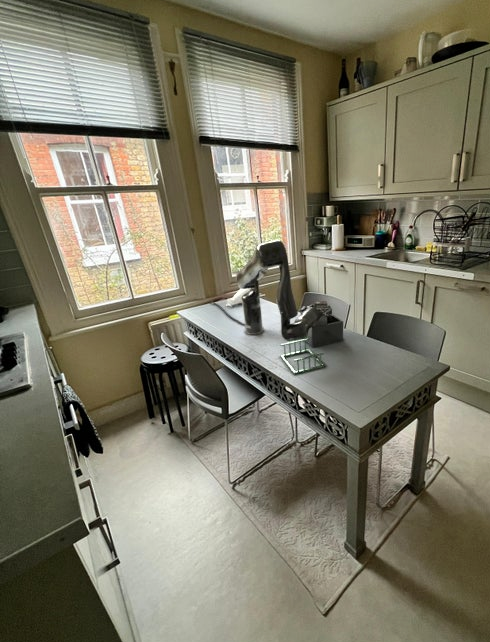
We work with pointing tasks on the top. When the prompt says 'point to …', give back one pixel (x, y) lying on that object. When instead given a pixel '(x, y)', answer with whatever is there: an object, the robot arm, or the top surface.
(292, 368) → the dish rack
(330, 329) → the grey open box
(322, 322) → the coffee box
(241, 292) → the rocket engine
